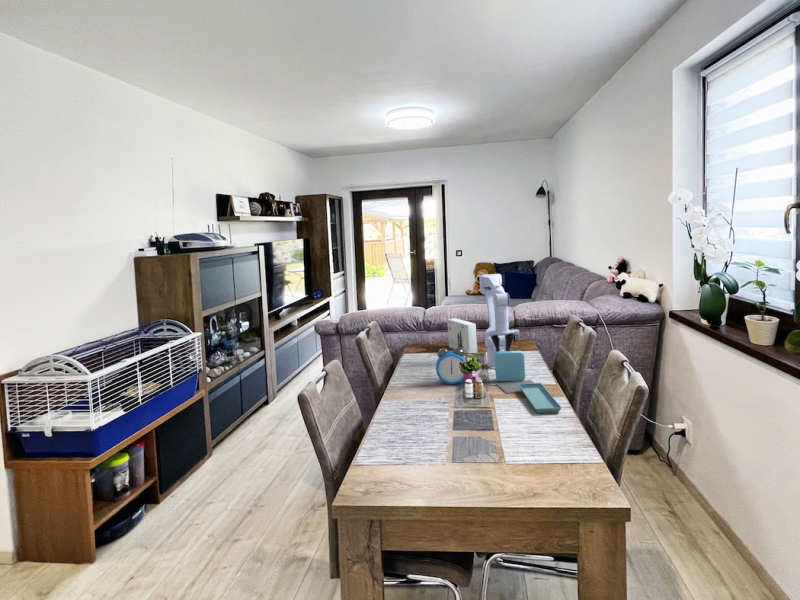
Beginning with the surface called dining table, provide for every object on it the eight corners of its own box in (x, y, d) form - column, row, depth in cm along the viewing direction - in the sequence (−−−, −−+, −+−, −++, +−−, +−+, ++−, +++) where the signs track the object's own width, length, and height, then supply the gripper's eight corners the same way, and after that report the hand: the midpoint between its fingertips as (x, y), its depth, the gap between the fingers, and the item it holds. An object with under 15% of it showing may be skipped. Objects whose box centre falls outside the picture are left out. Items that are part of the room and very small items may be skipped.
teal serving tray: (562, 413, 178) (562, 406, 178) (535, 414, 178) (535, 407, 178) (541, 388, 204) (541, 382, 204) (518, 390, 204) (517, 383, 204)
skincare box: (448, 347, 284) (446, 318, 282) (456, 346, 287) (455, 317, 284) (468, 355, 265) (467, 324, 263) (477, 353, 268) (476, 323, 265)
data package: (524, 378, 219) (523, 350, 218) (525, 381, 215) (524, 352, 214) (496, 378, 222) (494, 351, 221) (495, 381, 217) (494, 353, 216)
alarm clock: (436, 385, 218) (435, 350, 216) (436, 380, 224) (435, 346, 222) (468, 384, 216) (466, 349, 214) (467, 380, 222) (466, 345, 220)
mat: (495, 384, 215) (495, 383, 215) (530, 380, 217) (530, 379, 217) (506, 393, 202) (506, 392, 202) (543, 390, 204) (543, 389, 204)
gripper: (488, 323, 219) (489, 355, 220) (521, 321, 221) (522, 352, 222) (483, 321, 226) (484, 351, 227) (515, 318, 228) (516, 349, 229)
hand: (502, 351), depth 225 cm, fingers open, 4 cm apart
